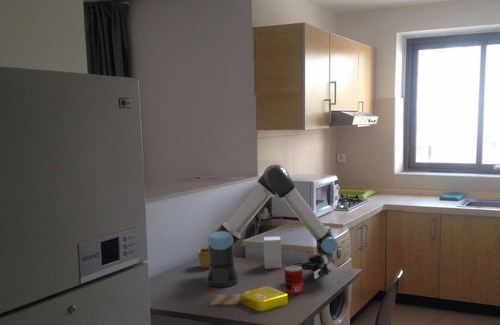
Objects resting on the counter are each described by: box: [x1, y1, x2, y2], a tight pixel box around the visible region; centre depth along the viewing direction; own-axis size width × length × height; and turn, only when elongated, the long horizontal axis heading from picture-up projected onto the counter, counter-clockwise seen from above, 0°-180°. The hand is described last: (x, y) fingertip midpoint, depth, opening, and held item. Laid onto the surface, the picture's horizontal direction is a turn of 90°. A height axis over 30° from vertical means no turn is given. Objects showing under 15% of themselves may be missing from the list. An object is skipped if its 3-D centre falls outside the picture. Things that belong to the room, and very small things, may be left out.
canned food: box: [284, 265, 304, 296], centre depth 210 cm, size 8×8×11 cm
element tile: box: [240, 285, 289, 312], centre depth 199 cm, size 15×15×5 cm
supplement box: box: [263, 236, 283, 270], centre depth 253 cm, size 9×9×15 cm
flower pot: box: [197, 247, 210, 269], centre depth 257 cm, size 9×9×9 cm
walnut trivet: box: [208, 293, 241, 307], centre depth 203 cm, size 12×12×1 cm
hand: (300, 274), depth 215 cm, fingers open, 13 cm apart
